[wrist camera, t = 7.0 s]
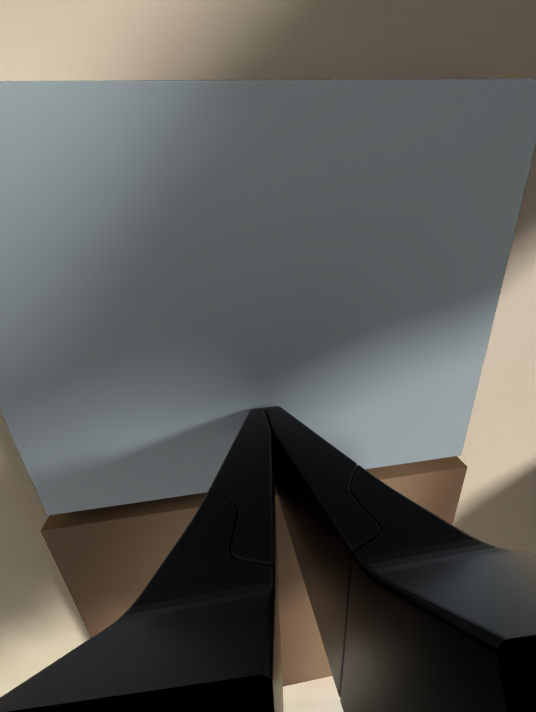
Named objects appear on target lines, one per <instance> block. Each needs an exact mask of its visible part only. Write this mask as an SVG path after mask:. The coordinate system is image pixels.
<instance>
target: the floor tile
mask: <svg viewBox="0 0 536 712" xmlns="http://www.w3.org/2000/svg"><path fill="white" fill-rule="evenodd" d="M535 145H536V79H363V80H140V81H0V412H1V414H2V416H3V418H4V421H5V423H6V425H7V427H8V430H9V432H10V434H11V436H12V438H13V441H14V443H15V445H16V447H17V450H18V452H19V454H20V456H21V459H22V461H23V463H24V465H25V468H26V470H27V472H28V474H29V476H30V479H31V481H32V483H33V485H34V488H35V490H36V492H37V494H38V497H39V499H40V501H41V503H42V506H43V508H44V510H45V512H46V514H47V516H48V515H55V514H61V513H68V512H75V511H82V510H89V509H96V508H103V507H110V506H116V505H123V504H130V503H137V502H144V501H151V500H158V499H164V498H171V497H178V496H185V495H192V494H199V493H206V492H208V490H209V488H210V487H211V484H212V482H213V480H214V479H215V477H216V475H217V473H218V471H219V469H220V467H221V465H222V463H223V461H224V459H225V457H226V455H227V453H228V451H229V449H230V448H231V446H232V444H233V442H234V440H235V438H236V436H237V434H238V432H239V430H240V428H241V426H242V424H243V422H244V420H245V418H246V417H247V415H248V413H249V411H250V410H251V409H258V408H264V409H266V408H267V407H274V406H280V407H281V408H283V409H284V410H285V411H287V412H288V413H289V414H291V415H292V416H294V417H295V418H296V419H298V420H299V421H300V422H302V423H303V424H304V425H306V426H307V427H308V428H310V429H311V430H312V431H314V432H315V433H316V434H318V435H319V436H321V437H322V438H323V439H325V440H326V441H327V442H329V443H330V444H331V445H333V446H334V447H335V448H337V449H338V450H339V451H341V452H342V453H344V454H345V455H346V456H348V457H349V458H350V459H352V460H353V461H354V462H356V463H357V465H360V466H361V467H363V468H364V469H371V468H377V467H384V466H391V465H398V464H405V463H412V462H419V461H426V460H432V459H439V458H446V457H453V456H460V455H461V453H462V449H463V445H464V441H465V437H466V433H467V428H468V424H469V420H470V416H471V412H472V408H473V403H474V399H475V395H476V391H477V387H478V383H479V378H480V374H481V370H482V366H483V362H484V358H485V353H486V349H487V345H488V341H489V337H490V333H491V328H492V324H493V320H494V316H495V312H496V308H497V303H498V299H499V295H500V291H501V287H502V283H503V278H504V274H505V270H506V266H507V262H508V258H509V253H510V249H511V245H512V241H513V237H514V233H515V229H516V224H517V220H518V216H519V212H520V208H521V204H522V199H523V195H524V191H525V187H526V183H527V179H528V174H529V170H530V166H531V162H532V158H533V154H534V149H535Z"/></svg>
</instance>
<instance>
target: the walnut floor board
mask: <svg viewBox="0 0 536 712" xmlns="http://www.w3.org/2000/svg"><path fill="white" fill-rule="evenodd" d="M365 470H367V471H368V472H369V473H371V474H372V475H374V476H375V477H376V478H378V479H379V480H381V481H382V482H384V483H385V484H387V485H388V486H390V487H391V488H393V489H394V490H396V491H397V492H399V493H401V494H402V495H404V496H405V497H407V498H409V499H410V500H412V501H413V502H415V503H417V504H418V505H420V506H422V507H423V508H425V509H427V510H428V511H430V512H432V513H433V514H435V515H437V516H438V517H440V518H442V519H443V520H445V521H447V522H448V523H450V524H453V520H454V516H455V512H456V509H457V505H458V501H459V497H460V493H461V489H462V485H463V482H464V478H465V474H466V470H467V466H466V465H465V464H464V463H463V462H462V461H461V460H460V459H459V458H458V457H457V456H453V457H446V458H439V459H432V460H426V461H419V462H412V463H405V464H398V465H391V466H384V467H377V468H371V469H365ZM206 494H207V492H206V493H199V494H192V495H185V496H178V497H171V498H164V499H158V500H151V501H144V502H137V503H130V504H123V505H116V506H110V507H103V508H96V509H89V510H82V511H75V512H68V513H61V514H55V515H49V517H48V519H47V521H46V523H45V524H44V526H43V528H42V530H41V532H42V534H43V537H44V539H45V541H46V543H47V545H48V547H49V549H50V551H51V553H52V556H53V558H54V560H55V562H56V564H57V566H58V568H59V570H60V572H61V574H62V577H63V579H64V581H65V583H66V585H67V587H68V589H69V591H70V593H71V596H72V598H73V600H74V602H75V604H76V606H77V608H78V610H79V612H80V614H81V617H82V619H83V621H84V623H85V625H86V627H87V629H88V631H89V633H90V636H91V638H92V637H94V636H95V635H97V634H98V633H100V632H101V631H103V630H104V629H106V628H107V627H109V626H110V625H112V624H113V623H114V622H115V621H116V620H118V619H119V618H120V617H121V616H122V615H123V614H124V613H125V612H126V611H127V610H128V609H129V608H130V607H131V605H132V604H133V603H134V602H135V601H136V599H137V598H138V597H139V596H140V594H141V593H142V591H143V590H144V589H145V587H146V586H147V584H148V583H149V581H150V580H151V579H152V577H153V576H154V574H155V573H156V571H157V570H158V568H159V567H160V566H161V564H162V563H163V561H164V560H165V558H166V557H167V556H168V554H169V553H170V551H171V550H172V548H173V547H174V545H175V544H176V543H177V541H178V540H179V538H180V537H181V535H182V534H183V532H184V531H185V529H186V528H187V526H188V525H189V523H190V522H191V520H192V519H193V517H194V515H195V514H196V512H197V510H198V508H199V507H200V505H201V503H202V501H203V500H204V498H205V496H206ZM275 502H276V528H277V554H278V580H279V606H280V632H281V658H282V684H283V686H287V685H292V684H296V683H301V682H306V681H310V680H315V679H319V678H324V677H329V676H333V675H332V671H331V668H330V665H329V662H328V658H327V655H326V652H325V649H324V645H323V642H322V639H321V636H320V632H319V629H318V626H317V622H316V619H315V616H314V613H313V609H312V606H311V603H310V600H309V596H308V593H307V590H306V587H305V583H304V580H303V577H302V573H301V570H300V567H299V564H298V560H297V557H296V554H295V551H294V547H293V544H292V541H291V538H290V534H289V531H288V528H287V524H286V521H285V518H284V515H283V511H282V508H281V505H280V502H279V498H278V495H277V491H276V488H275Z"/></svg>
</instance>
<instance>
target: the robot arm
mask: <svg viewBox="0 0 536 712" xmlns="http://www.w3.org/2000/svg"><path fill="white" fill-rule="evenodd" d="M275 488H276V491H277V495H278V498H279V502H280V505H281V508H282V511H283V515H284V518H285V521H286V524H287V528H288V531H289V534H290V538H291V541H292V544H293V547H294V551H295V554H296V557H297V560H298V564H299V567H300V570H301V573H302V577H303V580H304V583H305V587H306V590H307V593H308V596H309V600H310V603H311V606H312V609H313V613H314V616H315V619H316V622H317V626H318V629H319V632H320V636H321V639H322V642H323V645H324V649H325V652H326V655H327V658H328V662H329V665H330V668H331V671H332V675H333V678H334V681H335V685H336V688H337V691H338V694H339V697H340V698H341V700H340V701H341V705H342V708H343V711H344V712H536V554H531V553H524V552H516V551H510V550H506V549H502V548H498V547H495V546H492V545H489V544H487V543H484V542H482V541H480V540H478V539H476V538H474V537H472V536H470V535H469V534H467V533H465V532H463V531H462V530H460V529H458V528H457V527H455V526H453V525H452V524H450V523H448V522H447V521H445V520H443V519H442V518H440V517H438V516H437V515H435V514H433V513H432V512H430V511H428V510H427V509H425V508H423V507H422V506H420V505H418V504H417V503H415V502H413V501H412V500H410V499H409V498H407V497H405V496H404V495H402V494H401V493H399V492H397V491H396V490H394V489H393V488H391V487H390V486H388V485H387V484H385V483H384V482H382V481H381V480H379V479H378V478H376V477H375V476H374V475H372V474H371V473H369V472H368V471H367V470H365V469H364V468H363V467H361V466H360V465H357V463H356V462H354V461H353V460H352V459H350V458H349V457H348V456H346V455H345V454H344V453H342V452H341V451H339V450H338V449H337V448H335V447H334V446H333V445H331V444H330V443H329V442H327V441H326V440H325V439H323V438H322V437H321V436H319V435H318V434H316V433H315V432H314V431H312V430H311V429H310V428H308V427H307V426H306V425H304V424H303V423H302V422H300V421H299V420H298V419H296V418H295V417H294V416H292V415H291V414H289V413H288V412H287V411H285V410H284V409H283V408H281V407H280V406H274V407H267V408H266V409H264V408H258V409H251V410H250V411H249V413H248V415H247V417H246V418H245V420H244V422H243V424H242V426H241V428H240V430H239V432H238V434H237V436H236V438H235V440H234V442H233V444H232V446H231V448H230V449H229V451H228V453H227V455H226V457H225V459H224V461H223V463H222V465H221V467H220V469H219V471H218V473H217V475H216V477H215V479H214V480H213V482H212V484H211V487H210V488H209V490H208V492H207V494H206V496H205V498H204V500H203V501H202V503H201V505H200V507H199V508H198V510H197V512H196V514H195V515H194V517H193V519H192V520H191V522H190V523H189V525H188V526H187V528H186V529H185V531H184V532H183V534H182V535H181V537H180V538H179V540H178V541H177V543H176V544H175V545H174V547H173V548H172V550H171V551H170V553H169V554H168V556H167V557H166V558H165V560H164V561H163V563H162V564H161V566H160V567H159V568H158V570H157V571H156V573H155V574H154V576H153V577H152V579H151V580H150V581H149V583H148V584H147V586H146V587H145V589H144V590H143V591H142V593H141V594H140V596H139V597H138V598H137V599H136V601H135V602H134V603H133V604H132V605H131V607H130V608H129V609H128V610H127V611H126V612H125V613H124V614H123V615H122V616H121V617H120V618H119V619H118V620H116V621H115V622H114V623H113V624H112V625H110V626H109V627H107V628H106V629H104V630H103V631H101V632H100V633H98V634H97V635H95V636H94V637H92V638H91V639H89V640H88V641H86V642H84V643H83V644H81V645H80V646H78V647H77V648H75V649H74V650H72V651H71V652H69V653H68V654H66V655H65V656H63V657H62V658H60V659H58V660H57V661H55V662H54V663H52V664H51V665H49V666H48V667H46V668H45V669H43V670H42V671H40V672H39V673H37V674H36V675H34V676H32V677H31V678H29V679H28V680H26V681H25V682H23V683H22V684H20V685H19V686H17V687H16V688H14V689H13V690H11V691H10V692H8V693H6V694H5V695H3V696H2V697H0V712H283V684H282V658H281V632H280V606H279V580H278V554H277V528H276V502H275Z"/></svg>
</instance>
